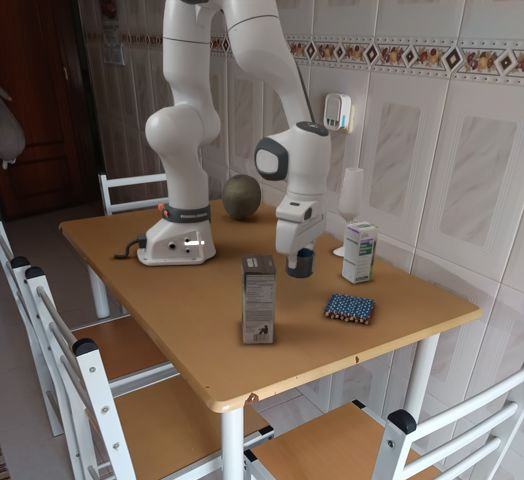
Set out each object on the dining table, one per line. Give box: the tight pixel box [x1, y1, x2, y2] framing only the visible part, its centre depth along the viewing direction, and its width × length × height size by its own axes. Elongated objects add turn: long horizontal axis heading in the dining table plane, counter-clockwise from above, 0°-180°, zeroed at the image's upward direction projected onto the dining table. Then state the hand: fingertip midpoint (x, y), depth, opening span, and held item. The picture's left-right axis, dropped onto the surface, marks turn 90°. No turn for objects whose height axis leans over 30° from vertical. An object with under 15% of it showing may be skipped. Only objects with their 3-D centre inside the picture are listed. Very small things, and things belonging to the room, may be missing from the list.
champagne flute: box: [332, 167, 364, 258], centre depth 141 cm, size 7×7×24 cm
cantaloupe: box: [221, 173, 262, 220], centre depth 169 cm, size 14×14×15 cm
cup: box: [284, 247, 316, 280], centre depth 117 cm, size 7×7×5 cm
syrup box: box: [341, 221, 379, 285], centre depth 128 cm, size 6×6×14 cm
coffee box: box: [241, 253, 278, 345], centre depth 101 cm, size 9×6×16 cm
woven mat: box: [323, 293, 376, 325], centre depth 114 cm, size 10×11×2 cm
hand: (300, 261), depth 116 cm, fingers closed on cup, 7 cm apart
